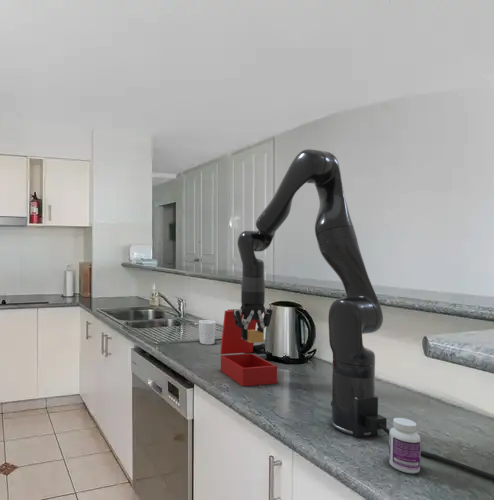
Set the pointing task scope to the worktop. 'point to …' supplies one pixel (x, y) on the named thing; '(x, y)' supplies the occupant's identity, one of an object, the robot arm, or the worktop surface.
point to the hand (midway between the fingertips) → (252, 339)
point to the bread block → (254, 336)
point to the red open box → (248, 369)
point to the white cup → (207, 331)
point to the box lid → (235, 335)
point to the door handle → (267, 353)
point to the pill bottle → (404, 446)
